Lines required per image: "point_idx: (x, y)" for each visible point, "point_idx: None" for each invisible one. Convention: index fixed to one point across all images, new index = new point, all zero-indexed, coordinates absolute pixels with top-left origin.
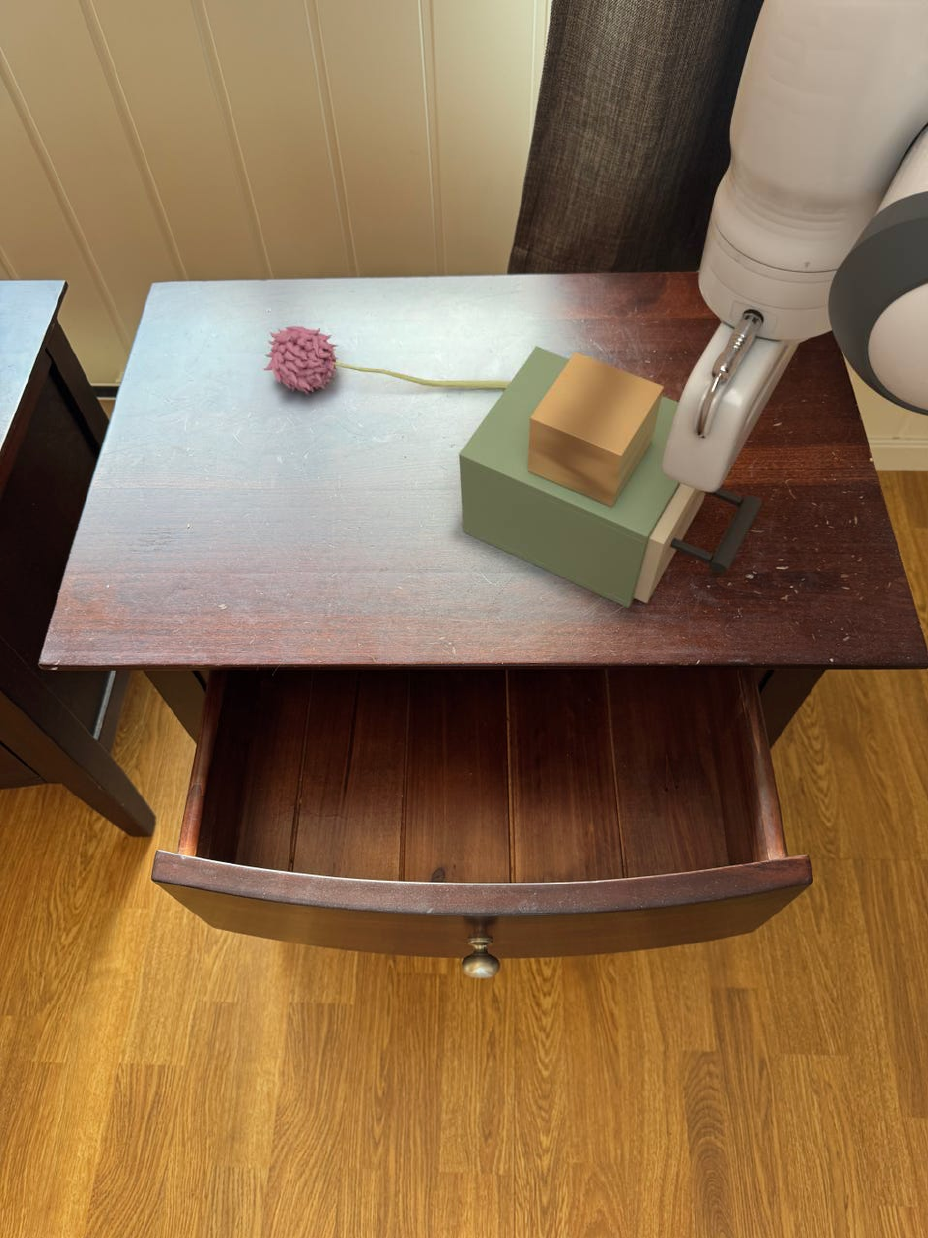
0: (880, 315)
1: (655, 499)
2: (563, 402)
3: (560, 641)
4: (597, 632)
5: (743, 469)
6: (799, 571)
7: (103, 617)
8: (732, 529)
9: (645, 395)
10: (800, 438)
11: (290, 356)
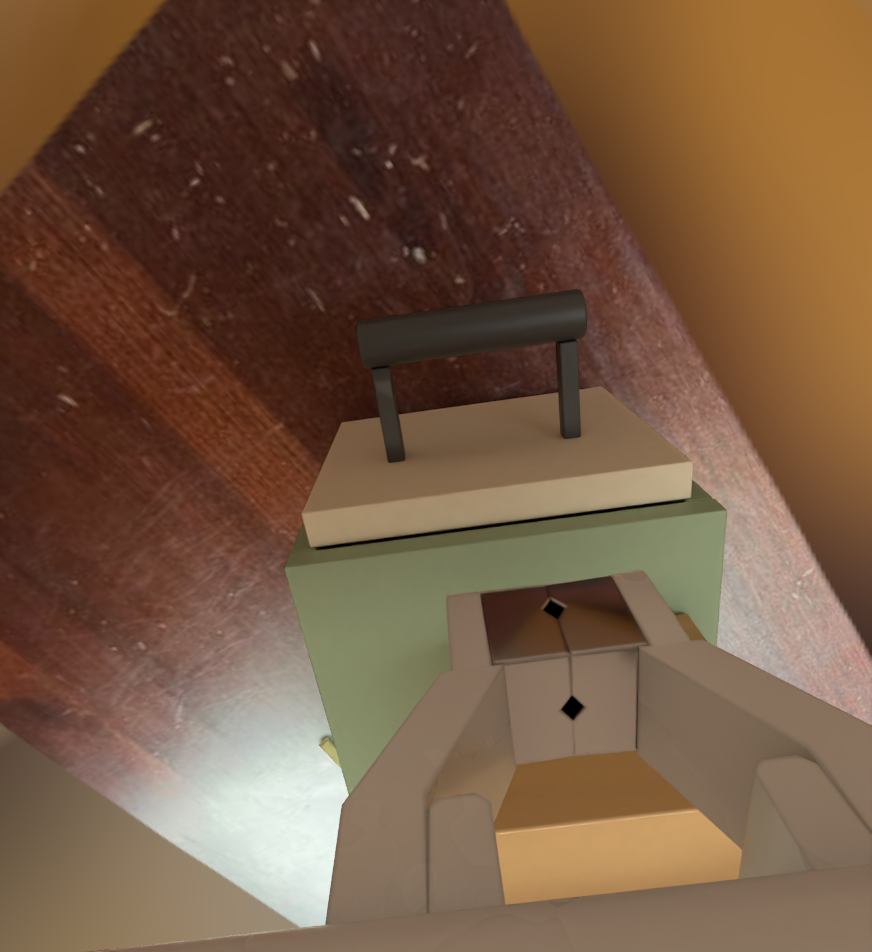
0: None
1: (609, 550)
2: None
3: (723, 459)
4: (679, 421)
5: (210, 397)
6: (343, 169)
7: None
8: (478, 343)
9: (543, 853)
10: (57, 344)
11: None
